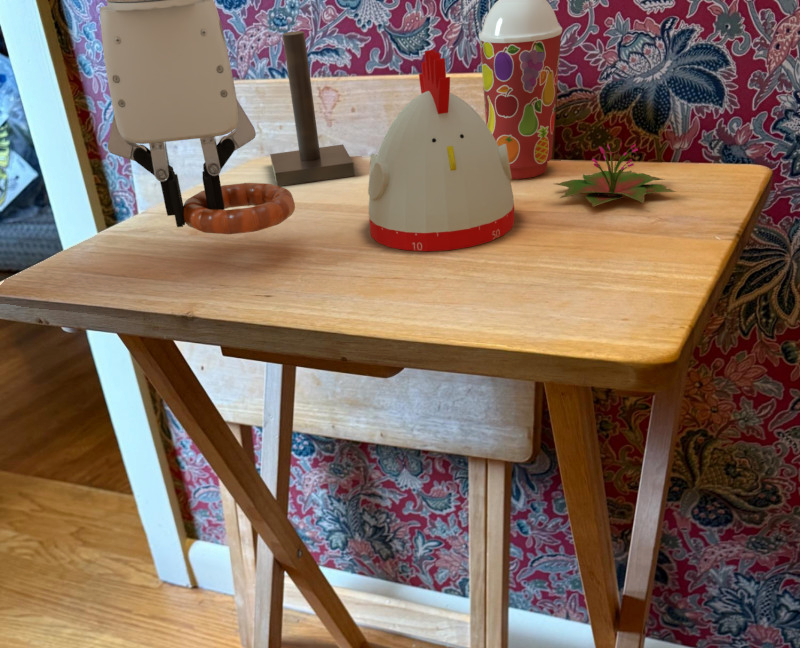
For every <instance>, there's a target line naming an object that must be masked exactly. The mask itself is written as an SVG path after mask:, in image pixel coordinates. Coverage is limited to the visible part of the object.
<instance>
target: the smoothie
mask: <svg viewBox="0 0 800 648" xmlns="http://www.w3.org/2000/svg"><path fill="white" fill-rule="evenodd" d="M552 7H553V6H552V5H551V4H550V3H549V2H548V1H547V0H496V2H495V3H493V5H492V6H491V7H490V9H489V11H488V13H487V15H486V17H485V19H484V22H483V25H482V29H481V30H480V32H479V33H478V34H477V35H478V39H479V50H480V51H479V52H480V63H481V64H480V65H481V75H482V88H483V102H484V113H485V124H486V125H487V127H488V128H489V130H490V131H491V133H492V135H493V137H494V138H495V140H496V142H497V144H498V146H501V145H503V144H506V146H507V153H508V159H509V165H510V170H511V176H512V178H511V180H524V179H531V178H535V177H538V176H540V175H542V174H544V173H546V171H547V169H548V162H550V161H551V160H552V158H553V146H554V132H555V121H556V106H557V93H558V81H559V70H560V69H559V68H560V57H561V56H560V55H561V54H560V53H561V42H562V33H563V27H562V26H561V25H559V21H558V18H557V16H556V13H555V11H554V9H553V8H552Z"/></svg>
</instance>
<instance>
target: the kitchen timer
mask: <svg viewBox="0 0 800 648" xmlns="http://www.w3.org/2000/svg"><path fill="white" fill-rule="evenodd" d="M440 54H441V53H440V52H436V49H430V50H429V49H428V50H424V61H422V62H421V73H418V79H419V80H418V81H419V87H420V88H419V89H420V94H419V95H417V96H416V97H414V98H413V99H412V100H410V101H409V102H408V103H407V104H406V105H405V106H404V108H403V109H402V110H401V111H399V113H398V115H396V117H395V118H394V119H393V121H392V123H390V126H389V128H388V130H387V131H386V133H385V135H384V137H383V139H382V141H381V144H380V146H379V149H378V152H377V154H375V153H370V158H369V159H370V160H369V171H368V172H369V173H368V174H369V175H368V176H369V177H368V189H367V190H368V191H367V192H368V218H369V227H370V229H369V230H370V237H371V238H372V239H373V240H374V241H375V242H377V243H378V244H381V245H383V246H386V247H388V248H391V249H392V248H393V249H398V250H403V251H409V252H410V251H413V252H440V251H441V252H443V251H453V250H459V249H466V248H471V247H475V246H479V245H482V244H486V243H489V242H492V241H495V240H497V239H498V238H500V237H503V236H505V235H506V234H507V233H508V232H509V231H511V230H512V229H513V226H514V223H515V199H514V192H513V186H512V183H511V180H512V179H511V178H512V176H511V170H510V165H509V159H508V153H507V146H506V144H503V145H501V146H498V144H497V142H496V140H495V138H494V137H493V135H492V133H491V131H490V130H489V128H488V127H487V125H486V121H484V120H483V117H481V115H480V114H479V113H478V112H477V111H476V110H475V109H474V107H472V106H471V104H469V103H468V102H466V101H465V100H463V98H461V97H459V96H457V95H456V94H454V93H451V92H450V91H451V77H450V76H447V70H446V58H445V57H441V55H440Z"/></svg>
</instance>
